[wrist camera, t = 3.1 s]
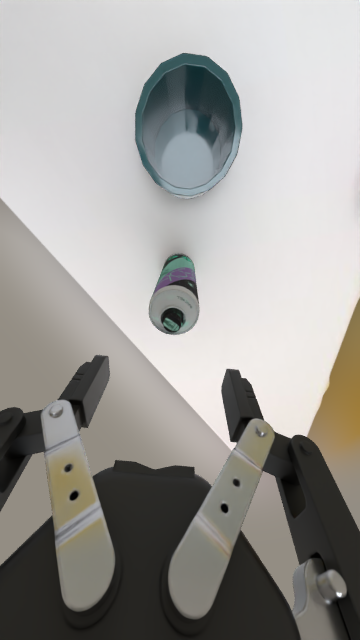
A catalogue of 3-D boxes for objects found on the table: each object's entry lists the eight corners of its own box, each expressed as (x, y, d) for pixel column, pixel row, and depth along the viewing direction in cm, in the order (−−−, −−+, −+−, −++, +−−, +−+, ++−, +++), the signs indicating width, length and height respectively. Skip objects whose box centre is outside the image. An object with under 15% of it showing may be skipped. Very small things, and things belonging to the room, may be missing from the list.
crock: (149, 194, 31) (135, 189, 22) (152, 99, 26) (135, 45, 17) (216, 202, 31) (228, 201, 23) (232, 110, 26) (255, 62, 18)
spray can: (193, 284, 38) (199, 349, 20) (164, 283, 38) (145, 348, 20) (195, 253, 35) (203, 299, 18) (163, 252, 35) (141, 297, 18)
